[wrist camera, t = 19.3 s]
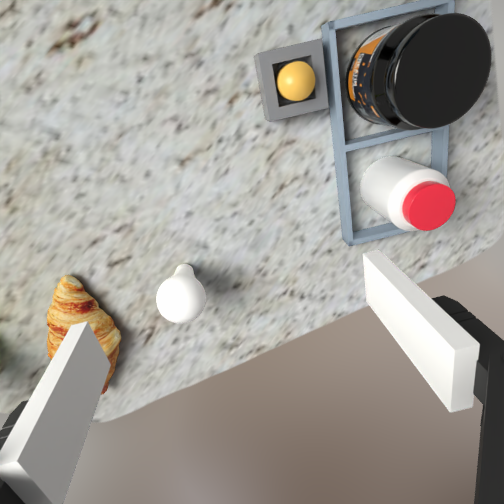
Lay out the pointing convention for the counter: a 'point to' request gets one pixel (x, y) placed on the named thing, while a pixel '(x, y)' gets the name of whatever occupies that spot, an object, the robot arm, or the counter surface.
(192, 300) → the lightbulb
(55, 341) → the croissant
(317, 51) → the grey egg holder
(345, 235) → the frame
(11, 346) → the counter surface
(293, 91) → the button
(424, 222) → the pill bottle
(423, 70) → the supplement container
